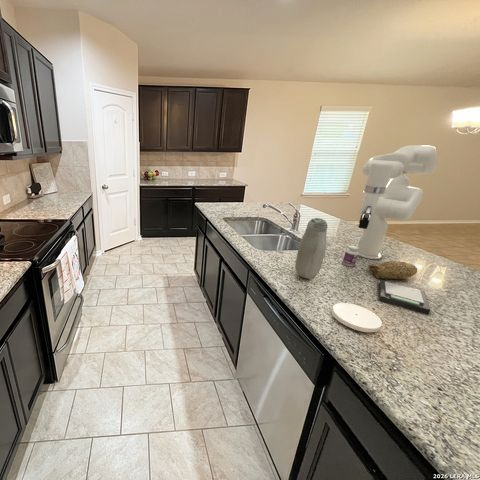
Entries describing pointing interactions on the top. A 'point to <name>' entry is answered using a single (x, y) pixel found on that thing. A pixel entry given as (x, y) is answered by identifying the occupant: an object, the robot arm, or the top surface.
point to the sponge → (393, 270)
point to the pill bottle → (350, 256)
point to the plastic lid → (356, 317)
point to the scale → (403, 297)
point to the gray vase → (312, 249)
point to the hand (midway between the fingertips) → (362, 225)
